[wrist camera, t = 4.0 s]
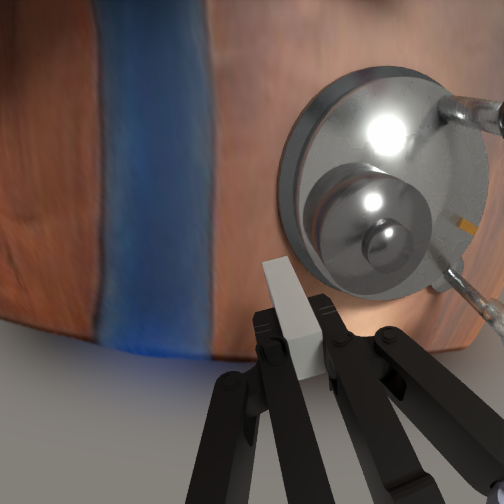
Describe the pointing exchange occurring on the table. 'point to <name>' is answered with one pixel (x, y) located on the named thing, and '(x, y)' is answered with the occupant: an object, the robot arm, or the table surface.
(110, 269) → the table surface
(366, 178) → the cover
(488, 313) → the metal lever handle
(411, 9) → the table surface
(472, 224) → the turntable
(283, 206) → the base
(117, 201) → the table surface
